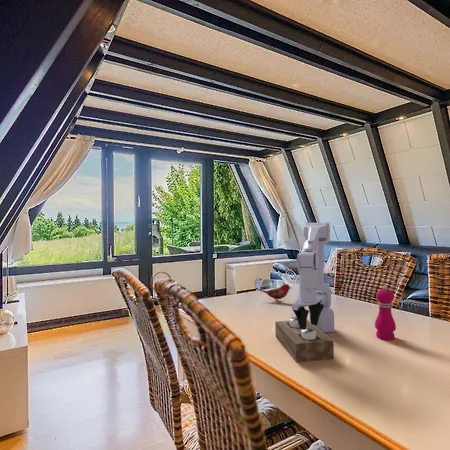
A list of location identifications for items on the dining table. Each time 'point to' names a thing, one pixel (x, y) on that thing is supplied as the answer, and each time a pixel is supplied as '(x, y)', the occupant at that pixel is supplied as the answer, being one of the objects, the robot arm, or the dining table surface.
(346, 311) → the dining table surface
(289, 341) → the housing
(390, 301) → the pepper mill
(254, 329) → the dining table surface
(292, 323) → the knob
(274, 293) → the decorative bird figurine
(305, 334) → the knob
